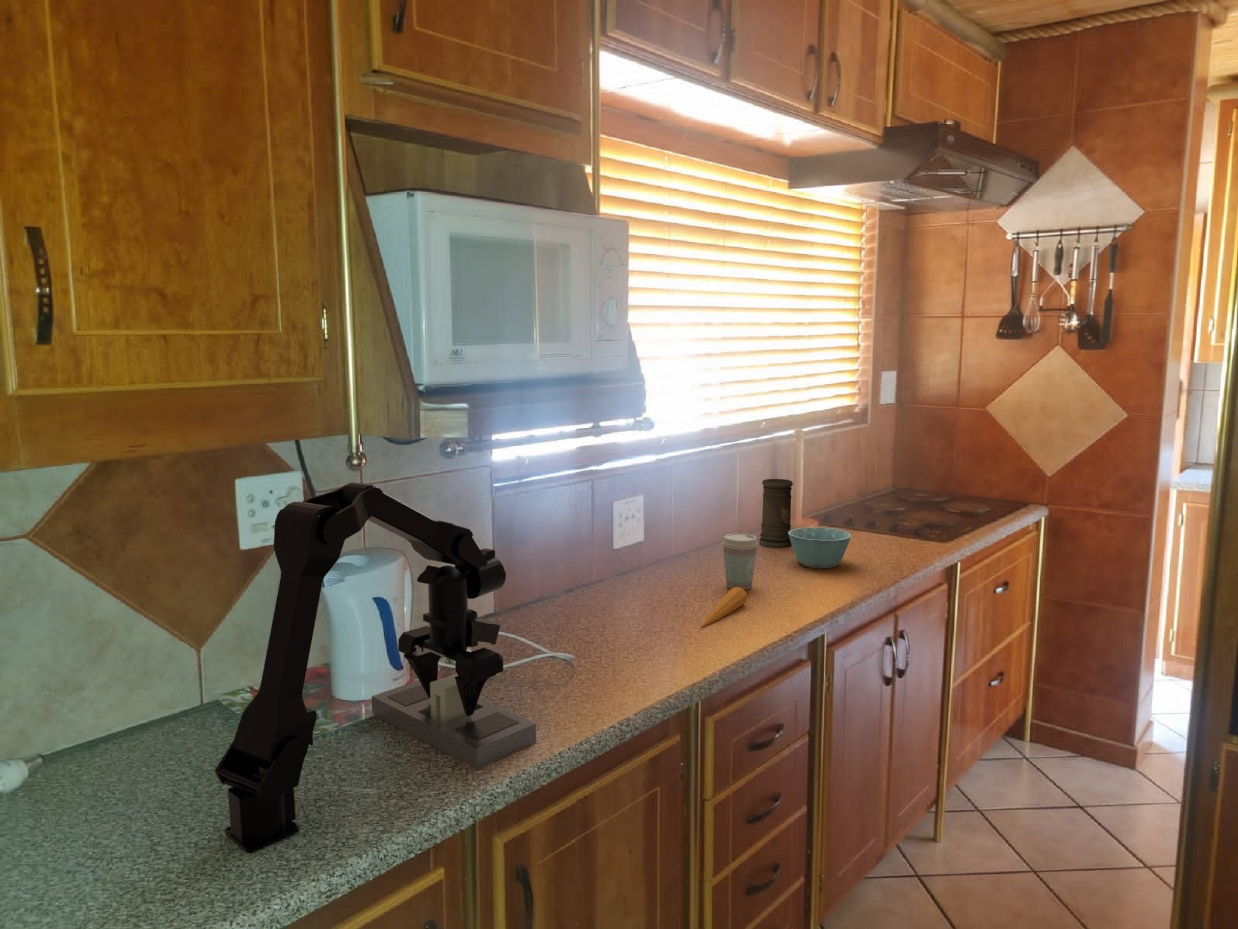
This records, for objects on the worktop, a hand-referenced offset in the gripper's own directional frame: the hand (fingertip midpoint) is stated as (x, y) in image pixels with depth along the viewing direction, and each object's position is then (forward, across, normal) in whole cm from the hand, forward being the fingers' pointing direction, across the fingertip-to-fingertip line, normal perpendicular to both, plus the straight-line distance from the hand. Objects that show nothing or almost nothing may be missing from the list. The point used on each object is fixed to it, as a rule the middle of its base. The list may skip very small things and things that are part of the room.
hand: (450, 706), depth 136 cm
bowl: (+4, +8, -123) cm, 123 cm away
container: (+4, +28, -134) cm, 137 cm away
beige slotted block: (+4, 0, 0) cm, 4 cm away
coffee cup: (+4, +11, -92) cm, 93 cm away
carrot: (+4, +2, -72) cm, 72 cm away
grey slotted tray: (+4, 0, 0) cm, 4 cm away
